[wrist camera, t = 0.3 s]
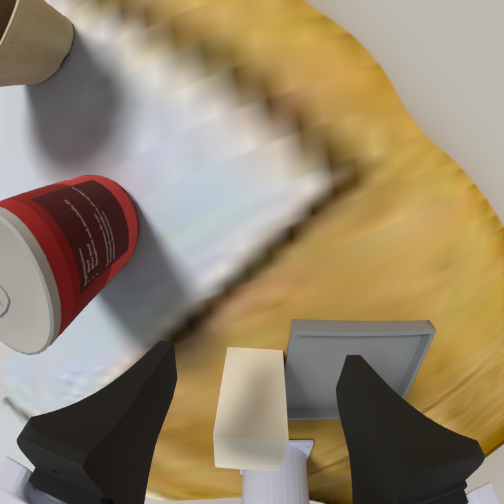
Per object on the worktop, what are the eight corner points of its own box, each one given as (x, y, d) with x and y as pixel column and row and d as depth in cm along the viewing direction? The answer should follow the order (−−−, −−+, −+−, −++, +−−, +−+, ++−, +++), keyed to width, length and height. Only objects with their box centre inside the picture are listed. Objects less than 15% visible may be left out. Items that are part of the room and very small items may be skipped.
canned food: (51, 245, 21) (-38, 306, 11) (75, 156, 19) (-39, 182, 8) (123, 289, 22) (50, 381, 12) (158, 200, 20) (65, 260, 9)
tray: (391, 403, 26) (395, 413, 25) (277, 408, 26) (277, 419, 25) (429, 320, 22) (436, 329, 21) (292, 319, 22) (294, 330, 21)
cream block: (276, 387, 25) (279, 470, 17) (227, 384, 25) (215, 466, 17) (282, 350, 24) (288, 439, 15) (227, 346, 24) (213, 435, 15)
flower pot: (1, 58, 15) (-64, 51, 7) (70, -17, 13) (11, -50, 5) (29, 124, 17) (-49, 132, 9) (108, 43, 15) (36, 8, 7)
